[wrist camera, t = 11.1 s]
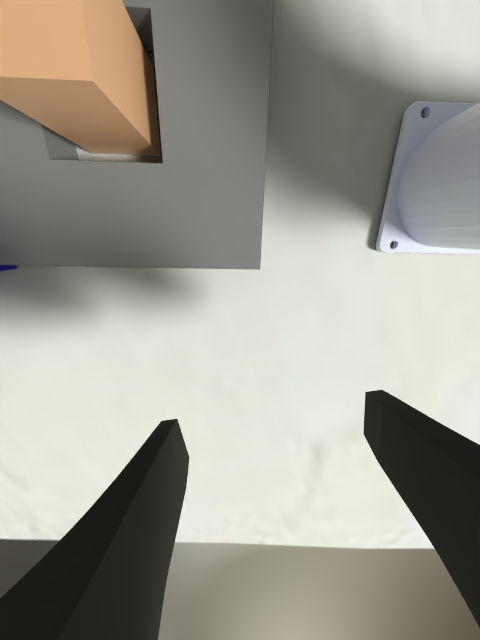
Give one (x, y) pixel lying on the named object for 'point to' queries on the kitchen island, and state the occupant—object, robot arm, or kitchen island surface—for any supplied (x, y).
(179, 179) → the socket plate
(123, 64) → the plug
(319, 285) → the kitchen island surface
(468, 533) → the robot arm
